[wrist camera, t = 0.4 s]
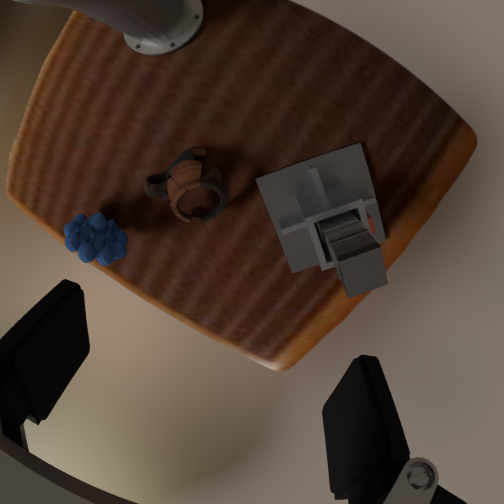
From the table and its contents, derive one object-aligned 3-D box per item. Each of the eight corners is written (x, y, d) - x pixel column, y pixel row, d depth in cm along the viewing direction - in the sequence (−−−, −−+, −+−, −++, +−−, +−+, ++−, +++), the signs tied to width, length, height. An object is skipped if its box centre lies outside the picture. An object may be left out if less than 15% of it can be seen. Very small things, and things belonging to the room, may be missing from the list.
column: (308, 202, 41) (336, 261, 24) (335, 193, 41) (382, 244, 23) (317, 229, 43) (347, 300, 26) (343, 219, 42) (389, 284, 25)
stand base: (255, 177, 41) (251, 195, 31) (358, 142, 38) (386, 149, 28) (292, 270, 47) (298, 310, 37) (383, 238, 44) (411, 270, 34)
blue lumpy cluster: (149, 214, 45) (115, 244, 34) (138, 249, 47) (106, 286, 36) (91, 188, 43) (48, 210, 32) (83, 223, 46) (44, 251, 35)
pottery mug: (225, 140, 40) (234, 173, 35) (224, 190, 47) (231, 227, 42) (142, 148, 38) (136, 183, 33) (151, 198, 45) (148, 235, 40)
